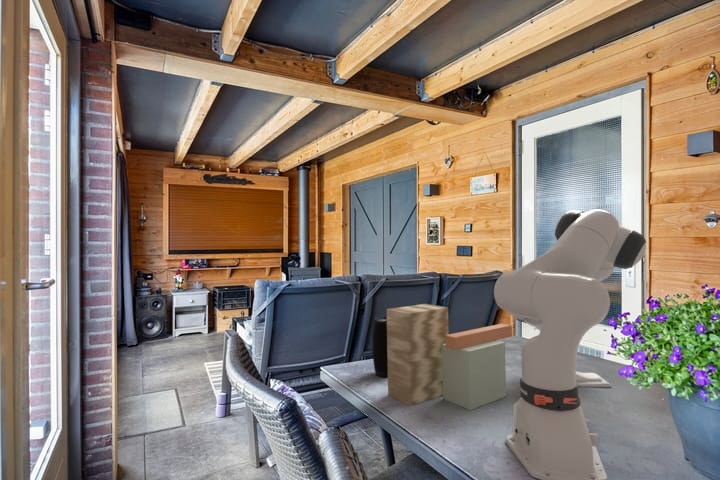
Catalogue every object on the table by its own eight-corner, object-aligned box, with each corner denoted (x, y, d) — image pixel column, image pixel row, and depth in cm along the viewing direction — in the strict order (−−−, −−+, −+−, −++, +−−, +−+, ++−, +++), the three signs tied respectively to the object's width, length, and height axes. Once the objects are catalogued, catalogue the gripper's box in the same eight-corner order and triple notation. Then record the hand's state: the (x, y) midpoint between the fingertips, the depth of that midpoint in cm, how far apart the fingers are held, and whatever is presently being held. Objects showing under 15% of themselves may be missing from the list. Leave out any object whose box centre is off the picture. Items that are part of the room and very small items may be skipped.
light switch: (555, 366, 138) (596, 365, 136) (556, 378, 138) (597, 377, 136) (566, 377, 127) (610, 375, 125) (568, 390, 127) (612, 389, 125)
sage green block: (478, 386, 128) (477, 336, 128) (506, 396, 119) (505, 342, 119) (443, 398, 118) (442, 344, 119) (470, 409, 110) (468, 351, 110)
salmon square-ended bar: (502, 334, 130) (502, 323, 130) (511, 336, 127) (511, 325, 127) (445, 347, 115) (445, 335, 115) (455, 350, 112) (454, 337, 112)
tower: (426, 383, 131) (425, 303, 131) (449, 392, 123) (448, 307, 123) (388, 394, 122) (386, 309, 122) (410, 405, 114) (408, 313, 114)
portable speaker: (400, 378, 137) (399, 320, 137) (373, 378, 137) (371, 321, 137) (398, 369, 146) (397, 315, 146) (372, 370, 146) (371, 316, 146)
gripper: (567, 328, 129) (546, 309, 122) (511, 319, 146) (490, 302, 139) (572, 310, 131) (552, 290, 124) (516, 303, 148) (495, 286, 141)
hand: (519, 296), depth 132 cm, fingers open, 8 cm apart
